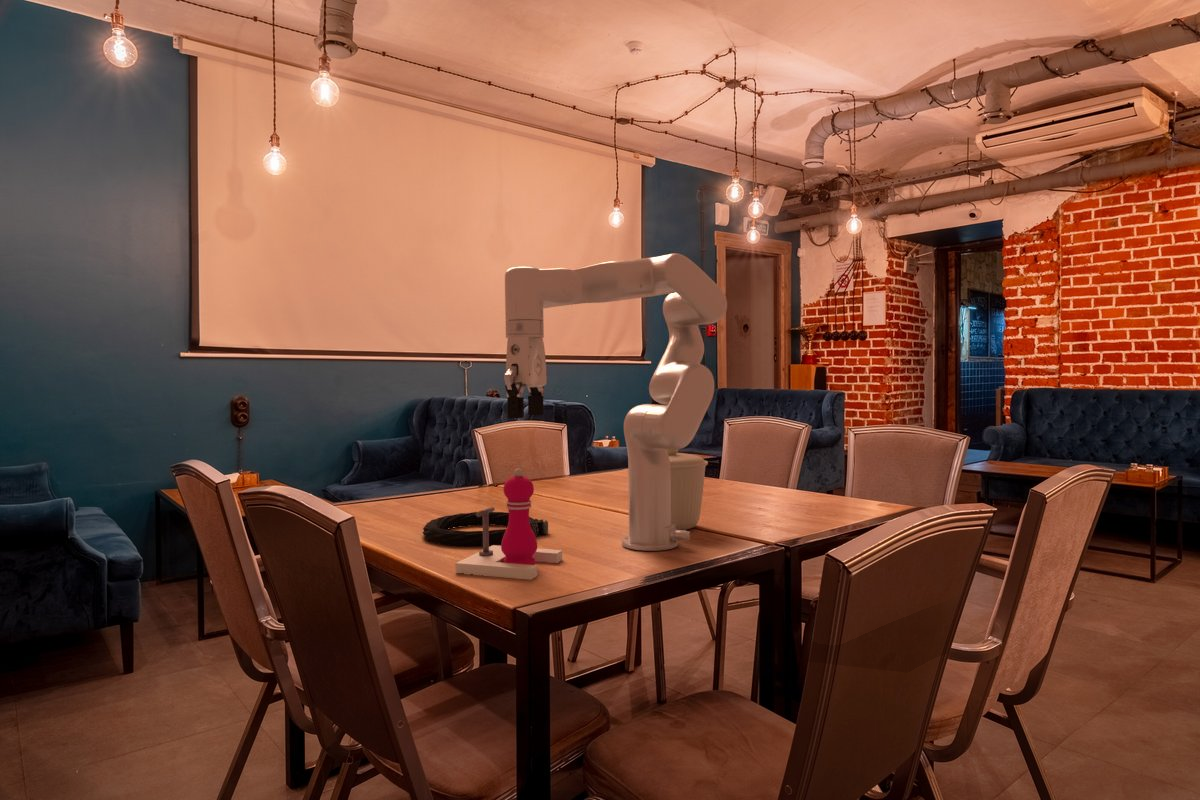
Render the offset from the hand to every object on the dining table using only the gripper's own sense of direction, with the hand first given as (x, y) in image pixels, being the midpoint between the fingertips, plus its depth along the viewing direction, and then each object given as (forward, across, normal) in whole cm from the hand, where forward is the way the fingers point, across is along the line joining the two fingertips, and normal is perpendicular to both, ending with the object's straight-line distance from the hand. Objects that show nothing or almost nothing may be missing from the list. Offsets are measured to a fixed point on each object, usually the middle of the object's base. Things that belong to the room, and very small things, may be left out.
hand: (526, 416), depth 152 cm
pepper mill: (+30, -2, +1) cm, 30 cm away
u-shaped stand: (+30, -1, +4) cm, 30 cm away
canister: (+31, +46, -19) cm, 58 cm away
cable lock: (+31, +25, +22) cm, 46 cm away
